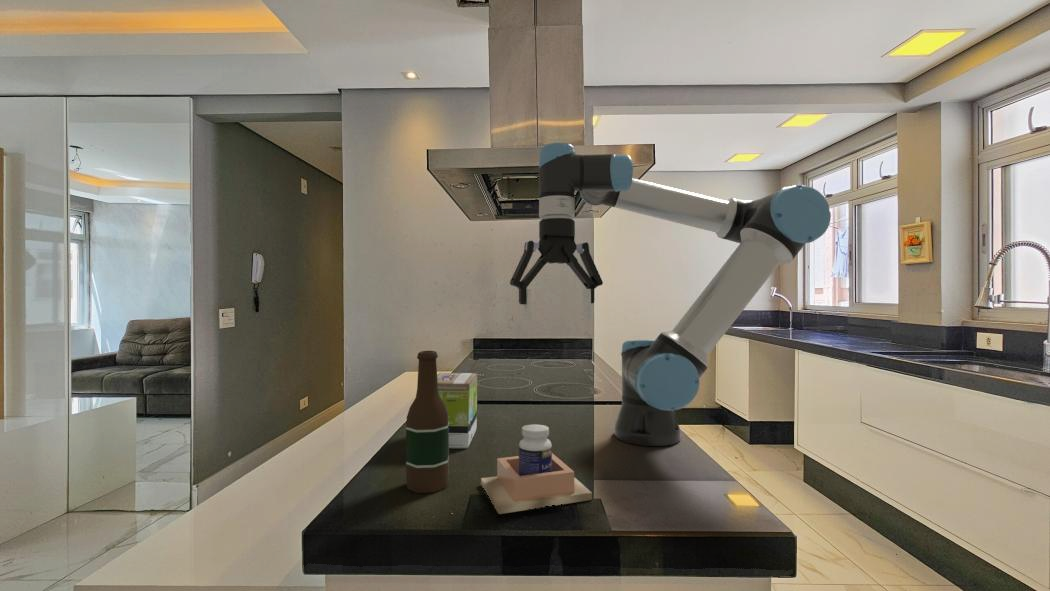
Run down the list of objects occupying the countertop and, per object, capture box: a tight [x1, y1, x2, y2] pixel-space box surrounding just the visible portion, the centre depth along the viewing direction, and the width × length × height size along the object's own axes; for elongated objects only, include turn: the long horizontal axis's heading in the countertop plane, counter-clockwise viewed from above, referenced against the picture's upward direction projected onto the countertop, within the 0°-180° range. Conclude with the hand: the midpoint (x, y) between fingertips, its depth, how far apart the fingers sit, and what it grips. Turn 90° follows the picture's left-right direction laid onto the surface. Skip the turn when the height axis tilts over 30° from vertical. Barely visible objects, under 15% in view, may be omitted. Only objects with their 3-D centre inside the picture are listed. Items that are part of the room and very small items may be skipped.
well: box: [496, 452, 575, 502], centre depth 82 cm, size 10×10×4 cm
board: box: [480, 475, 593, 515], centre depth 82 cm, size 16×12×1 cm
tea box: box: [437, 372, 478, 449], centre depth 113 cm, size 15×10×15 cm
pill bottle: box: [518, 424, 553, 476], centre depth 82 cm, size 6×6×10 cm
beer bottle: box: [405, 350, 450, 494], centre depth 85 cm, size 8×8×24 cm
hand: (557, 320), depth 101 cm, fingers open, 13 cm apart
